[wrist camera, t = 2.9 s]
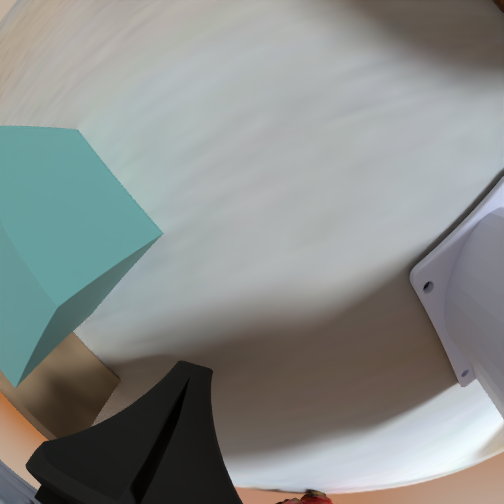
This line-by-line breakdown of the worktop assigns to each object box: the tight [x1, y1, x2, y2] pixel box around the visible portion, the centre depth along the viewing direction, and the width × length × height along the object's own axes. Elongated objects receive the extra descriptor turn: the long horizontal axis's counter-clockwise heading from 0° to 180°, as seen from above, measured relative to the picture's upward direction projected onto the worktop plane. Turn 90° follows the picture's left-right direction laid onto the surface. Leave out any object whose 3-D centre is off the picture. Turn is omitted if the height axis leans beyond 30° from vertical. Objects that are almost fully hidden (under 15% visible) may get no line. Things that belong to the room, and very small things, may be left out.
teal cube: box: [0, 126, 163, 388], centre depth 7 cm, size 6×6×6 cm
